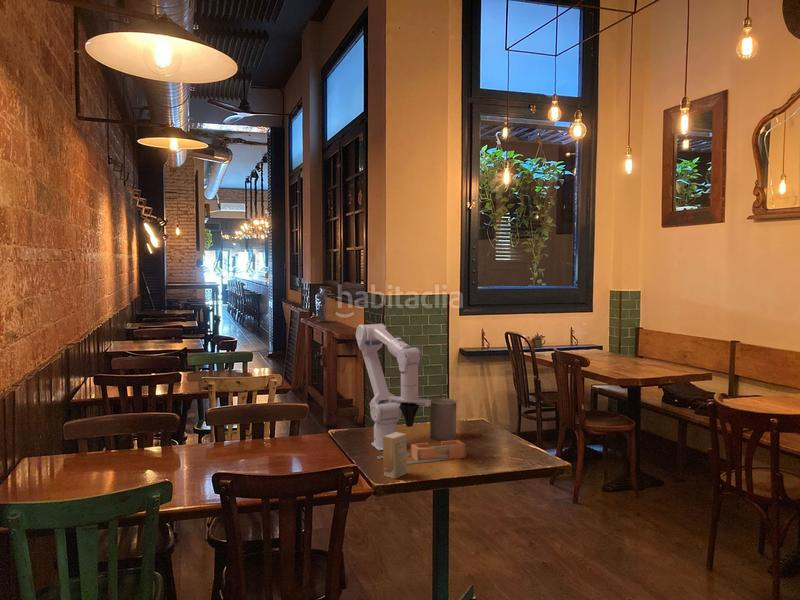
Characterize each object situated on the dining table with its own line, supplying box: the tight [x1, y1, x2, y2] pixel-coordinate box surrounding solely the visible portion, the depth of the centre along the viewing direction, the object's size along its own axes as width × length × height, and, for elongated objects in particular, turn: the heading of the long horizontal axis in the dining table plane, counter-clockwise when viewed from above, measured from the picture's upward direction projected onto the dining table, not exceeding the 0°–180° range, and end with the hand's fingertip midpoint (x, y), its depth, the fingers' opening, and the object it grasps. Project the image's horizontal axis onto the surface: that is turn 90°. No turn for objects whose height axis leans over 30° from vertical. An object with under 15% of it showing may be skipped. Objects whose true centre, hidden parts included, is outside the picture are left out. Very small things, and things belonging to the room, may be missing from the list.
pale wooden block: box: [420, 444, 456, 458], centre depth 204 cm, size 4×14×4 cm, turn 110°
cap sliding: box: [410, 442, 436, 460], centre depth 203 cm, size 7×6×4 cm
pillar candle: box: [429, 396, 457, 441], centre depth 230 cm, size 10×10×15 cm
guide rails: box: [376, 452, 449, 465], centre depth 202 cm, size 9×21×1 cm, turn 109°
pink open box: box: [440, 439, 467, 460], centre depth 207 cm, size 7×6×4 cm
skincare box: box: [382, 431, 408, 480], centre depth 185 cm, size 6×4×12 cm
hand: (409, 426), depth 204 cm, fingers closed
